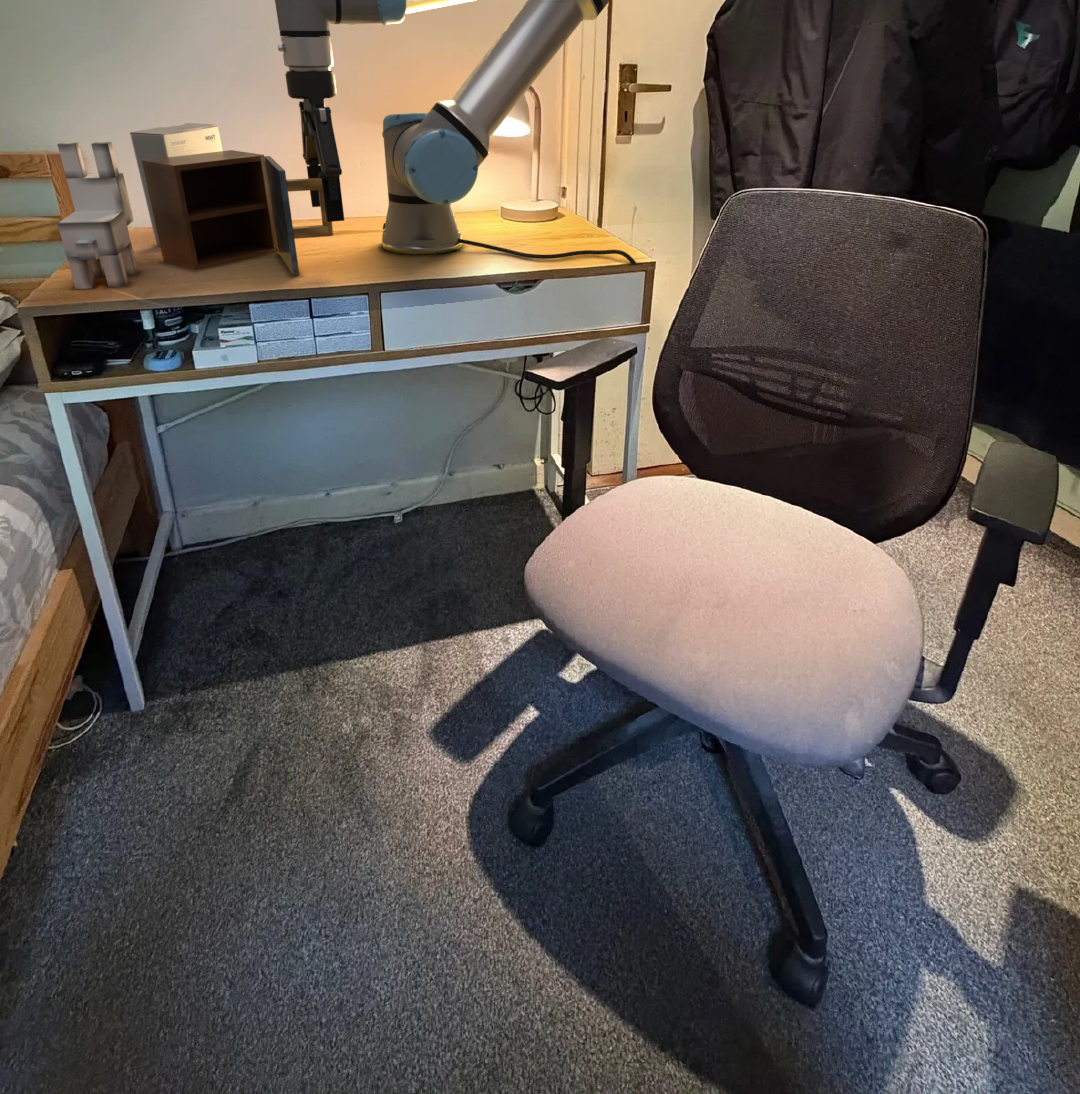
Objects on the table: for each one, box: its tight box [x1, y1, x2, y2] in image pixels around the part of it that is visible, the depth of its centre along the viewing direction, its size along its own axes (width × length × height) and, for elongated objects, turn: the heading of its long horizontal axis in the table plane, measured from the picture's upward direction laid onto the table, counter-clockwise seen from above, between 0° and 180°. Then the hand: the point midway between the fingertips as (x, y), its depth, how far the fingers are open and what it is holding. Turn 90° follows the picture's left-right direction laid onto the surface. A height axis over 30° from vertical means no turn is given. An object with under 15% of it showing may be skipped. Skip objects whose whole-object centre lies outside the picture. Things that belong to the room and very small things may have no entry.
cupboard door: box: [264, 155, 334, 277], centre depth 147 cm, size 8×18×16 cm, turn 23°
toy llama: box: [57, 141, 139, 290], centre depth 136 cm, size 8×18×20 cm, turn 11°
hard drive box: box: [129, 122, 224, 247], centre depth 161 cm, size 16×8×20 cm, turn 159°
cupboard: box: [142, 149, 279, 272], centre depth 150 cm, size 10×18×17 cm, turn 143°
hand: (327, 213), depth 143 cm, fingers open, 13 cm apart
